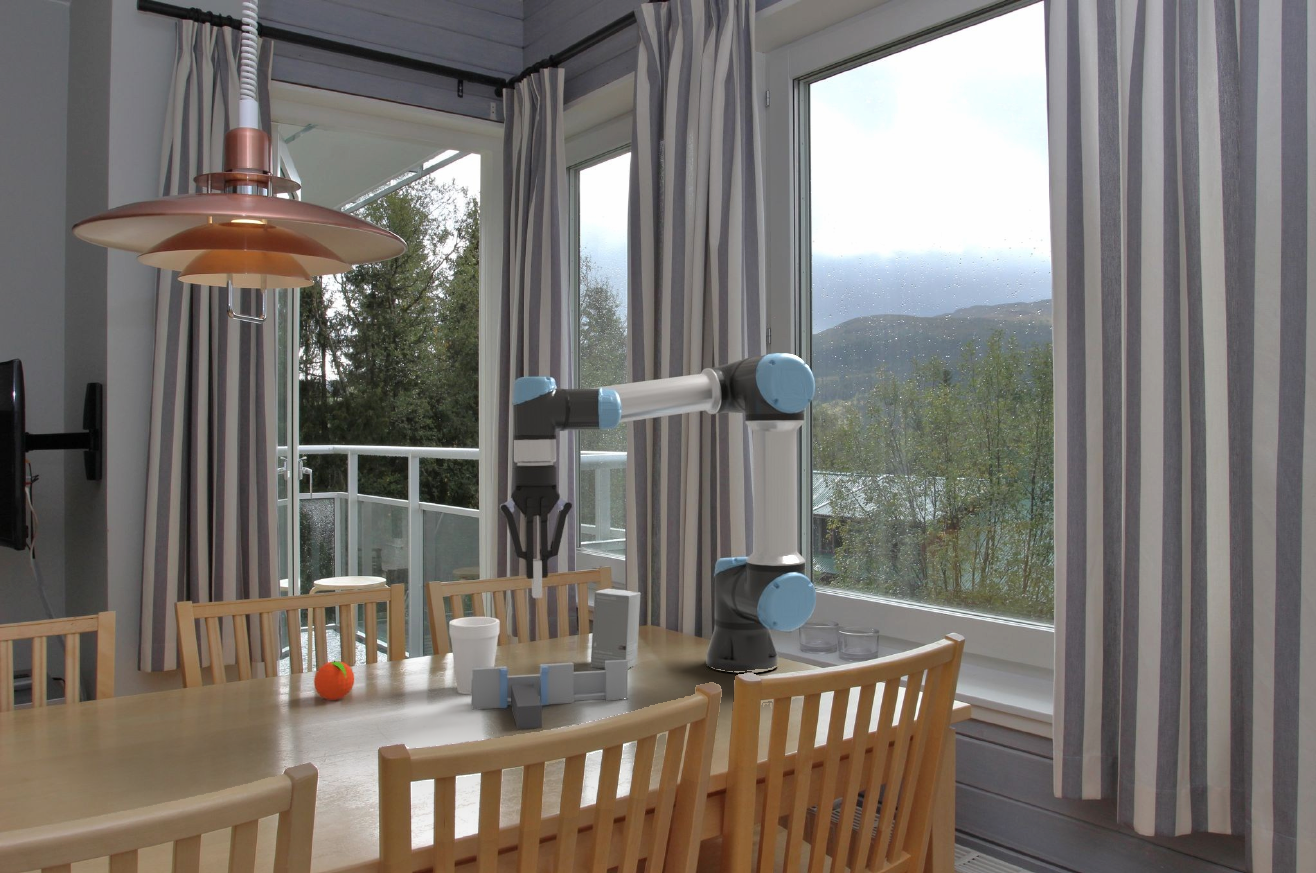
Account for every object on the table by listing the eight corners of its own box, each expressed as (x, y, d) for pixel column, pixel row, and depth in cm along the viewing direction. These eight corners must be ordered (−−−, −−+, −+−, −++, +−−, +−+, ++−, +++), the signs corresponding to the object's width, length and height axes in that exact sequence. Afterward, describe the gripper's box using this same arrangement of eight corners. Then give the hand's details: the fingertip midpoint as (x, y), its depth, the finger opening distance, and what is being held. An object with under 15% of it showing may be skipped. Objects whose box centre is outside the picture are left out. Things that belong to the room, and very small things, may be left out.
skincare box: (590, 667, 196) (590, 592, 196) (604, 660, 203) (605, 586, 203) (627, 671, 193) (627, 594, 193) (640, 664, 200) (641, 589, 200)
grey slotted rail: (622, 693, 177) (622, 655, 177) (628, 700, 172) (629, 662, 172) (471, 702, 170) (471, 664, 170) (473, 711, 165) (473, 671, 165)
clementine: (364, 700, 171) (364, 661, 171) (328, 708, 166) (328, 668, 166) (342, 691, 177) (342, 654, 177) (307, 699, 172) (307, 660, 172)
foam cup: (487, 697, 173) (488, 627, 173) (440, 694, 175) (441, 625, 175) (506, 684, 183) (506, 617, 183) (461, 681, 184) (461, 615, 184)
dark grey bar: (533, 705, 169) (533, 683, 169) (542, 728, 156) (542, 704, 156) (511, 707, 168) (511, 685, 168) (517, 730, 155) (517, 706, 155)
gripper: (567, 462, 172) (569, 591, 172) (496, 464, 169) (498, 595, 169) (575, 463, 165) (577, 597, 165) (500, 465, 161) (502, 602, 162)
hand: (537, 596), depth 167 cm, fingers closed
